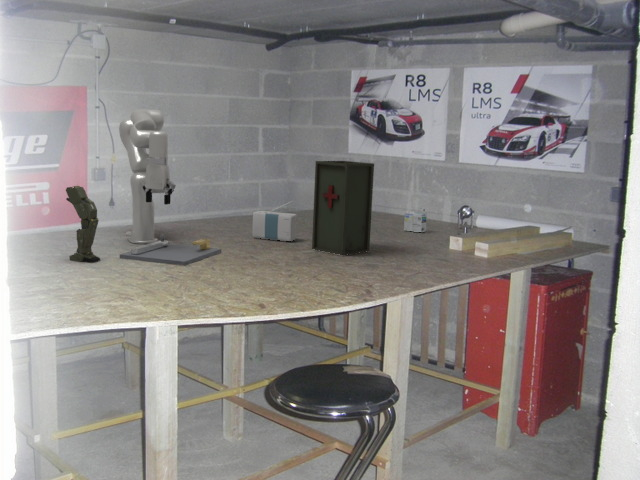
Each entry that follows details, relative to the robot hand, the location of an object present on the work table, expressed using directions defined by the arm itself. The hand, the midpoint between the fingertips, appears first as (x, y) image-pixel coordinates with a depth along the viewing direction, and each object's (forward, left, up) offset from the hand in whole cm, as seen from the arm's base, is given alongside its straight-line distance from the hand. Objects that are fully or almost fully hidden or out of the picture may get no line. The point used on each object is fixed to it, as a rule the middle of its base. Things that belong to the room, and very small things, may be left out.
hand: (158, 203), depth 283 cm
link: (-1, -4, -19) cm, 20 cm away
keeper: (+17, +7, -19) cm, 26 cm away
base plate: (+9, -3, -21) cm, 23 cm away
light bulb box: (+88, +122, -21) cm, 152 cm away
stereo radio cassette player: (+31, +56, -21) cm, 67 cm away
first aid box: (+68, +44, -21) cm, 83 cm away
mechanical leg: (-15, -29, -21) cm, 39 cm away
